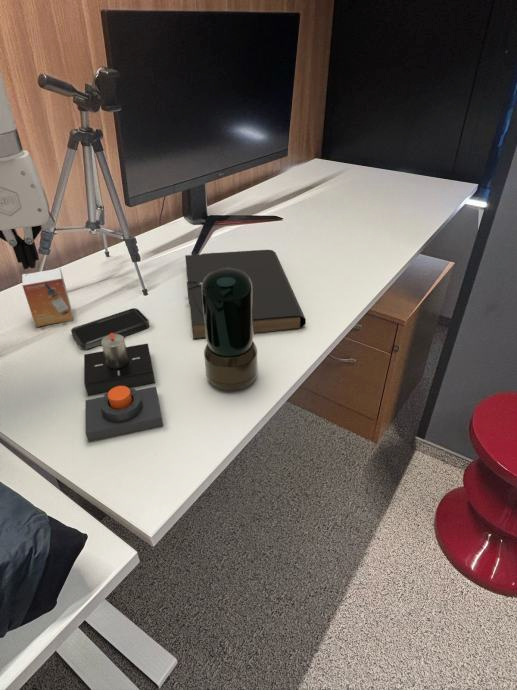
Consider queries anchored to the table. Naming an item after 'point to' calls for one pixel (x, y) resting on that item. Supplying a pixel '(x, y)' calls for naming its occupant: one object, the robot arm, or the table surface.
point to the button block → (122, 415)
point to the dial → (115, 351)
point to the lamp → (229, 329)
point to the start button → (119, 397)
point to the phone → (109, 327)
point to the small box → (47, 297)
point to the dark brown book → (268, 289)
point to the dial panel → (118, 371)
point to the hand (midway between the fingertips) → (30, 264)
